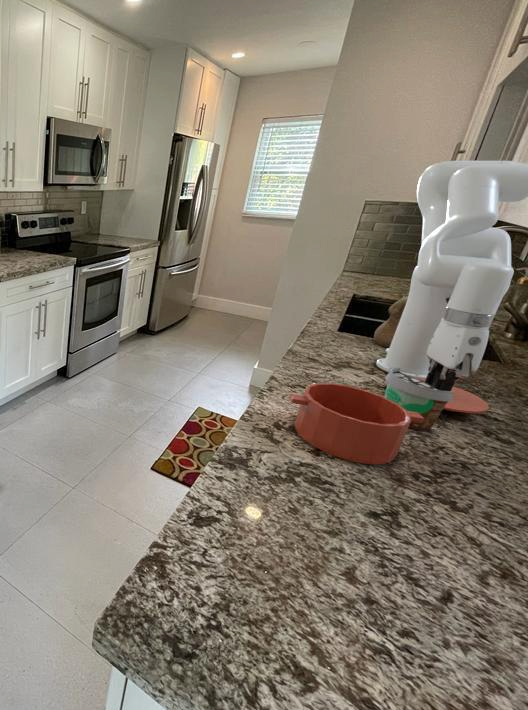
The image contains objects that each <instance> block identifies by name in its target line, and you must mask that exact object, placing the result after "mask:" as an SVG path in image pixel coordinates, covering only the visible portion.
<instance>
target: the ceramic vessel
mask: <svg viewBox="0 0 528 710" xmlns="http://www.w3.org/2000/svg"><path fill="white" fill-rule="evenodd" d="M408 296H409V292H407V293H405V294H403V295H402V297H401V298H400V299H399V300H397V301H395V302H394V303H393V304H392V305H390V306H389V308H388V313H389V318H388V319H386V320H385V322H383V323H382V324H380V325H379V326H378V327H377V328H376V330H375V331H374V335H373V340H374V342H375V343H376V344H377V345H379V346H382V347H384V348H386V349H388V348H390V345H391V343H392V340H393V337H394V335H395V332H396V329H397V327H398V324H399V322H400V319H401V316H402V313H403V311H404V308H405V305H406V302H407V299H408ZM449 300H450V298H446V302H447V304H448V302H449Z"/></svg>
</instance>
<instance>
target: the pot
mask: <svg viewBox="0 0 528 710" xmlns="http://www.w3.org/2000/svg"><path fill="white" fill-rule="evenodd" d="M288 399H289V401H290V403H291V404H294V405H299V408H298V410H297V414H296V418H295V420H294V423H293V425H294V429H295V431H296V433H297V434H298V435H299V437H301V438H302V439H303V440H304V441H305V442H307V443H308V444H309V445H311V446H313V447H315V448H316V449H318V450H320V451H322V452H325V453H326V454H329V455H331V456H334V457H337V458H338V459H339V458H340V459H343V460H346V461H350V462H354V463H357V464H358V463H359V464H364V465H385V464H389V463H391V462H392V461H393V460H394V459H395V458H396V457H397V455H398V453H399V450H400V448H401V447H402V446H401V445H402V443H403V441H404V439H405V436H406V434H407V432H408V430H409V425H410V422H411V421H413V422H419V423H423V421H424V418H423V417H422V416H421V415H420V414H419V413H418V412H412V411H406V410H405V409H404V408H403V407H402V406H400V405H398V404H397V403H395V402H393V401H391V400H389V399H387V398H385V396H384V395H381V394H378V393H375V392H372V391H369V390H366V389H363V388H359V387H354V386H351V385H347V384H340V383H334V382H333V383H332V382H315V383H312V384H309V385H307V386H305V389H304V391H303V395H301V394H294V393H289V394H288Z"/></svg>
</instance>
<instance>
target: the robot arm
mask: <svg viewBox="0 0 528 710" xmlns="http://www.w3.org/2000/svg"><path fill="white" fill-rule="evenodd" d="M527 198H528V163H523V162H519V161H515V160H448V161H440V162H437V163H434V164H431V165H430V166H428V167H426V168H425V170H424V171H423V172H422V173H421V175H420V177H419V180H418V184H417V188H416V199H417V204H418V207H419V210H420V213H421V216H422V229H421V244H420V245H421V246H420V249H419V252H418V256H417V257H418V258H417V265H416V266H415V267H414V270H413V272H412V275H411V280H410V287H409V291H408V293H409V296H408V299H407V302H406V305H405V308H404V311H403V313H402V316H401V319H400V322H399V324H398V327H397V329H396V332H395V335H394V337H393V340H392V343H391V345H390V348H386V349H385V350H384V351H385V353H387V354H386V355H385V357H381V358H379V359H377V360H376V362H375V365H376V366H377V367H378V368H379V369H381V370H382V371H384V372H386V373H389V372H390V371H392V370H393V369H395V368H401V369H400V372H401V373H403V374H406V375H408V376H410V377H416V378H422V379H426V380H425V382H426V383H428V384H430V385H431V383H432V380H433V378H434V376H435V373H436V372H437V371H440V372H442V373H441V375H440V378H437V379H436V381H435V384H434V386H433V387H434V388H436V389H438V390H440V391H451V390H452V387H453V386H454V385H455V383H456V382H458V381H459V379H464V378H465V379H467V378H469V377H470V372H471V373H475V372H476V371H477V370H478V369H479V367H480V364H481V362H482V359H483V357H484V354H485V352H486V348H487V345H488V341H489V335H490V330H489V329H490V327H491V325H492V323H493V320H494V318H495V316H496V314H497V311H498V309H499V307H500V305H501V303H502V300H503V298H504V296H505V295H506V294H507V292H508V290H509V289H510V286H511V283H512V282H511V281H512V278H513V276H514V273H515V270H514V268H513V267H512V240H511V237H510V234H509V233H508V232H507V231H506V230H505V229H502V228H499V227H493V226H495V225H496V223H497V222H498V220H499V218H500V217H499V203H500V202H507V203H515V202H520V201H523V200H525V199H527ZM446 298H450V300H449V302H448V304H447V302H446Z"/></svg>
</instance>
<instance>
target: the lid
mask: <svg viewBox="0 0 528 710" xmlns="http://www.w3.org/2000/svg"><path fill="white" fill-rule="evenodd" d="M441 373H442V372H440V371H437V372H436V373H435V376H434V378H433V380H432V383H431V386H434V384H435V381H436V379H437V378H440V375H441ZM413 378H416V377H413ZM416 379H419V380H422V381H425V380H426V379H422V378H416ZM387 385H388V382H387V381H386V386H387ZM451 391H453V394H452V395H453V400H452V402H447V403H446V405H445V407H444V408H443V410H446V411H451V412H457V413H465V414H482V413H486V412H487V411H488V410H489V408H490V407H489V404H488V403H487V401H485V400H484V399H482V398H481V397H479V396H478V395H475V393H472V392H469V391H467V390H465V389H462V388H459V387H456V386H454V385H453V387H452V390H451Z"/></svg>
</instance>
